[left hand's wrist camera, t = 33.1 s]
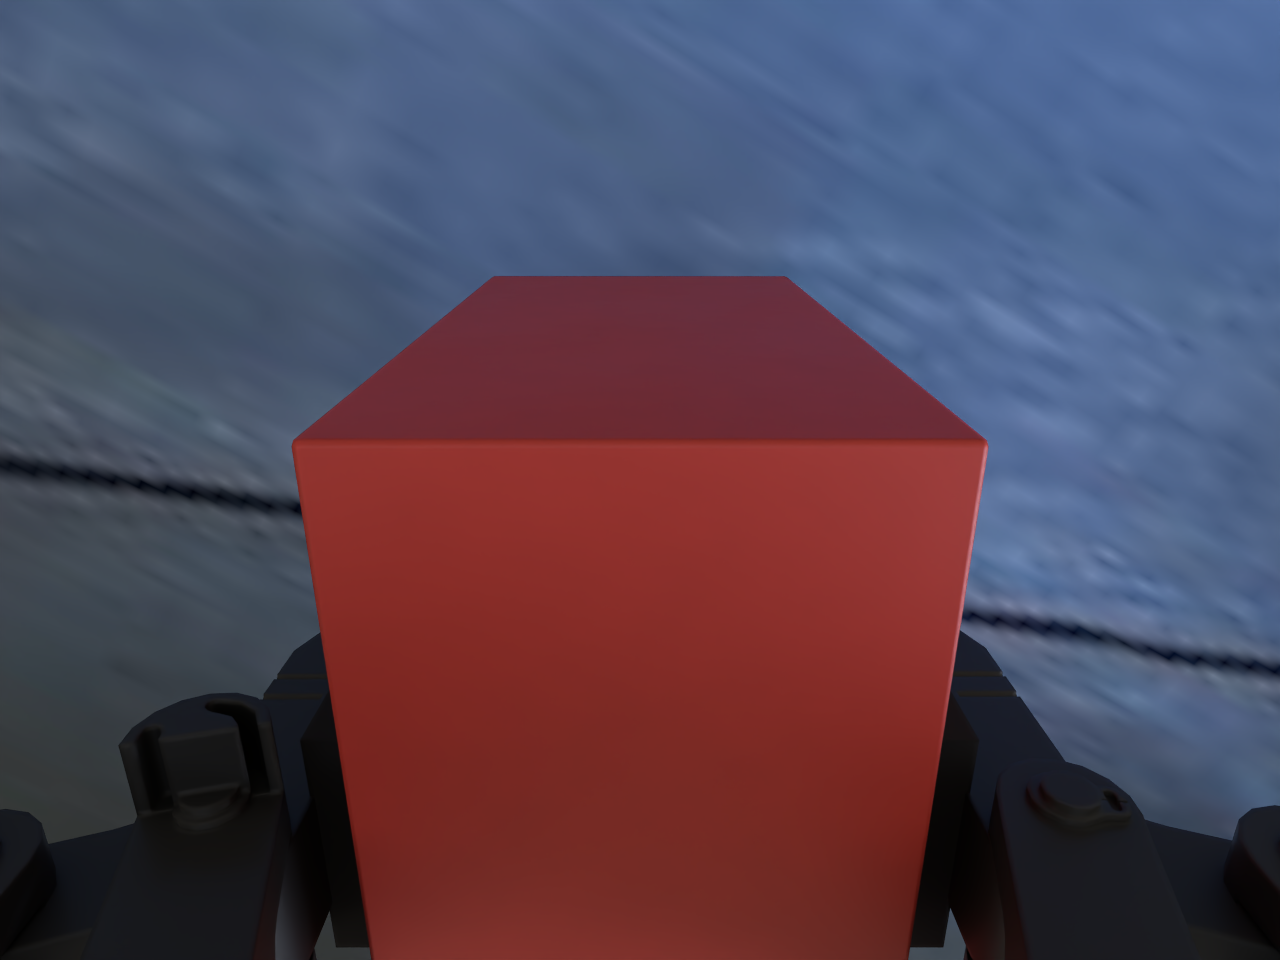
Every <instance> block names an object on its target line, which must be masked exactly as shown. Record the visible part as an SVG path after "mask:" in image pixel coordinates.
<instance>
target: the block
mask: <svg viewBox="0 0 1280 960" xmlns="http://www.w3.org/2000/svg"><path fill="white" fill-rule="evenodd" d="M292 452H293V458H294V465H295V471H296V478H297V484H298V491H299V497H300V503H301V510H302V516H303V523H304V529H305V536H306V542H307V548H308V555H309V561H310V568H311V574H312V581H313V587H314V593H315V600H316V606H317V613H318V619H319V626H320V632H321V638H322V645H323V651H324V658H325V664H326V671H327V677H328V683H329V690H330V696H331V703H332V709H333V716H334V722H335V728H336V735H337V741H338V748H339V754H340V761H341V767H342V773H343V780H344V786H345V793H346V799H347V806H348V812H349V818H350V825H351V831H352V838H353V844H354V851H355V857H356V863H357V870H358V876H359V883H360V889H361V896H362V902H363V908H364V915H365V921H366V928H367V934H368V941H369V947H370V953H371V960H908V957H909V950H910V944H911V938H912V931H913V925H914V918H915V912H916V906H917V899H918V893H919V887H920V880H921V874H922V867H923V861H924V855H925V848H926V842H927V835H928V829H929V823H930V816H931V810H932V804H933V797H934V791H935V784H936V778H937V772H938V765H939V759H940V752H941V746H942V740H943V733H944V727H945V721H946V714H947V708H948V701H949V695H950V689H951V682H952V676H953V670H954V663H955V657H956V650H957V644H958V638H959V631H960V625H961V618H962V612H963V606H964V599H965V593H966V587H967V580H968V574H969V567H970V561H971V555H972V548H973V542H974V535H975V529H976V523H977V516H978V510H979V504H980V497H981V491H982V484H983V478H984V472H985V465H986V459H987V452H988V443H987V440H986V439H984V438H983V437H982V436H981V435H980V434H978V433H977V432H976V431H975V430H973V429H972V428H971V427H970V426H968V425H967V424H966V423H965V422H964V421H962V420H961V419H960V418H959V417H957V416H956V415H955V414H954V413H953V412H951V411H950V410H949V409H948V408H946V407H945V406H944V405H943V404H942V403H940V402H939V401H938V400H937V399H935V398H934V397H933V396H932V395H930V394H929V393H928V392H927V391H926V390H924V389H923V388H922V387H921V386H919V385H918V384H917V383H916V382H915V381H913V380H912V379H911V378H910V377H908V376H907V375H906V374H905V373H904V372H902V371H901V370H900V369H899V368H897V367H896V366H895V365H894V364H892V363H891V362H890V361H889V360H888V359H886V358H885V357H884V356H883V355H881V354H880V353H879V352H878V351H877V350H875V349H874V348H873V347H872V346H870V345H869V344H868V343H867V342H866V341H864V340H863V339H862V338H861V337H859V336H858V335H857V334H856V333H854V332H853V331H852V330H851V329H850V328H848V327H847V326H846V325H845V324H843V323H842V322H841V321H840V320H839V319H837V318H836V317H835V316H834V315H832V314H831V313H830V312H829V311H828V310H826V309H825V308H824V307H823V306H821V305H820V304H819V303H818V302H816V301H815V300H814V299H813V298H812V297H810V296H809V295H808V294H807V293H805V292H804V291H803V290H802V289H801V288H799V287H798V286H797V285H796V284H794V283H793V282H792V281H791V280H790V279H788V278H787V277H785V276H494V277H492V278H491V279H490V280H488V281H487V282H486V283H485V284H484V285H482V286H481V287H480V288H479V289H477V290H476V291H475V292H474V293H473V294H471V295H470V296H469V297H468V298H466V299H465V300H464V301H463V302H462V303H460V304H459V305H458V306H457V307H455V308H454V309H453V310H452V311H451V312H449V313H448V314H447V315H446V316H444V317H443V318H442V319H441V320H440V321H438V322H437V323H436V324H435V325H433V326H432V327H431V328H430V329H429V330H427V331H426V332H425V333H424V334H422V335H421V336H420V337H419V338H418V339H416V340H415V341H414V342H413V343H411V344H410V345H409V346H408V347H407V348H405V349H404V350H403V351H402V352H400V353H399V354H398V355H397V356H396V357H394V358H393V359H392V360H391V361H389V362H388V363H387V364H386V365H385V366H383V367H382V368H381V369H380V370H378V371H377V372H376V373H375V374H374V375H372V376H371V377H370V378H369V379H367V380H366V381H365V382H364V383H363V384H361V385H360V386H359V387H358V388H357V389H355V390H354V391H353V392H352V393H350V394H349V395H348V396H347V397H346V398H344V399H343V400H342V401H341V402H339V403H338V404H337V405H336V406H335V407H333V408H332V409H331V410H330V411H328V412H327V413H326V414H325V415H324V416H322V417H321V418H320V419H319V420H317V421H316V422H315V423H314V424H313V425H311V426H310V427H309V428H308V429H306V430H305V431H304V432H303V433H302V434H300V435H299V436H298V437H297V438H295V439H294V440H293V443H292Z"/></svg>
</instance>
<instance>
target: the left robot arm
mask: <svg viewBox="0 0 1280 960" xmlns="http://www.w3.org/2000/svg"><path fill="white" fill-rule="evenodd" d="M119 749H120V753H121V757H122V760H123V764H124V768H125V771H126V775H127V779H128V783H129V786H130V790H131V794H132V797H133V801H134V805H135V809H136V812H137V818H136V821H135V823H134V824H131V825H127V826H124V827H121V828H117V829H114V830H110V831H105V832H101V833H96V834H92V835H87V836H83V837H78V838H74V839H69V840H65V841H61V842H56V843H52V844H48V842H47V839H46V836H45V833H44V830H43V827H42V824H41V822H39V821H38V820H37V819H36V818H35V817H33V816H32V815H31V814H30V813H29V812H22V811H15V810H9V809H2V810H0V960H316V954H315V949H314V947H315V944H316V942H317V940H318V937H319V935H320V932H321V930H322V927H323V925H324V923H325V920H326V918H327V915H328V913H329V910H330V915H331V921H332V926H333V932H334V938H335V943H336V947H369V941H368V934H367V928H366V921H365V915H364V908H363V902H362V896H361V889H360V883H359V876H358V870H357V863H356V857H355V851H354V844H353V838H352V831H351V825H350V818H349V812H348V806H347V799H346V793H345V786H344V780H343V773H342V767H341V761H340V754H339V748H338V741H337V735H336V728H335V722H334V716H333V709H332V703H331V696H330V690H329V683H328V677H327V671H326V664H325V658H324V651H323V645H322V638H321V632H320V633H319V634H317V635H316V636H315V637H313V638H312V639H310V640H309V641H307V642H306V643H305V644H303V645H302V646H300V647H299V648H297V649H296V650H295V651H294V652H293V653H292V655H291V656H290V657H289V659H288V660H287V662H286V663H285V665H284V666H283V667H282V669H281V670H280V672H279V673H278V677H277V679H274V680H273V682H272V683H271V685H270V686H269V687H268V689H267V690H266V692H265V693H264V698H263V700H259V699H258V698H256V697H252V696H248V695H244V694H240V693H217V694H207V695H203V696H199V697H195V698H190V699H186V700H182V701H180V702H177V703H175V704H173V705H170V706H168V707H166V708H164V709H161V710H159V711H157V712H155V713H153V714H152V715H150V716H149V717H147V718H146V719H144V720H143V721H142V722H140V723H139V724H137V725H136V726H134V727H133V728H132V729H131V730H130V732H129V733H128V734H127V735H126V737H125V738H124V739H123V740H122V742H121V743H120V744H119ZM950 908H951V910H952V913H953V915H954V917H955V920H956V922H957V925H958V927H959V929H960V932H961V934H962V937H963V939H964V942H965V944H966V949H965V954H964V960H1280V806H1276V805H1274V806H1267V807H1260V808H1253V809H1251V810H1250V811H1249V812H1247V813H1246V814H1245V815H1244V816H1242V817H1241V818H1240V819H1239V821H1238V824H1237V827H1236V830H1235V834H1234V837H1233V840H1232V841H1231V840H1227V839H1222V838H1218V837H1213V836H1209V835H1204V834H1200V833H1195V832H1191V831H1186V830H1182V829H1177V828H1173V827H1168V826H1165V825H1161V824H1158V823H1154V822H1151V821H1147V820H1145V819H1144V817H1143V815H1142V813H1141V812H1140V810H1139V809H1138V807H1137V806H1136V804H1135V803H1134V801H1133V800H1132V798H1131V797H1130V796H1129V795H1128V794H1127V793H1125V792H1124V791H1123V790H1122V789H1120V788H1119V787H1118V786H1117V785H1115V784H1114V783H1113V782H1112V781H1110V780H1109V779H1107V778H1105V777H1103V776H1101V775H1099V774H1097V773H1095V772H1093V771H1091V770H1089V769H1087V768H1085V767H1083V766H1079V765H1076V764H1072V763H1068V762H1066V761H1065V760H1064V759H1063V757H1062V756H1061V754H1060V753H1059V752H1058V750H1057V749H1056V747H1055V746H1054V744H1053V743H1052V742H1051V740H1050V739H1049V737H1048V736H1047V734H1046V733H1045V732H1044V730H1043V729H1042V727H1041V726H1040V725H1039V723H1038V722H1037V720H1036V719H1035V717H1034V716H1033V715H1032V713H1031V712H1030V710H1029V709H1028V708H1027V706H1026V705H1025V703H1024V702H1023V700H1022V699H1021V698H1020V697H1017V696H1016V690H1015V689H1014V688H1013V686H1012V685H1011V683H1010V682H1009V681H1008V679H1007V678H1006V677H1003V675H1002V671H1001V669H1000V668H999V666H998V665H997V663H996V662H995V661H994V659H993V658H992V656H991V655H990V654H989V652H988V651H987V649H986V648H985V647H983V646H982V645H981V644H979V643H978V642H976V641H975V640H973V639H972V638H970V637H969V636H968V635H966V634H965V633H963V632H962V631H959V638H958V644H957V650H956V657H955V663H954V670H953V676H952V682H951V689H950V695H949V701H948V708H947V714H946V721H945V727H944V733H943V740H942V746H941V752H940V759H939V765H938V772H937V778H936V784H935V791H934V797H933V804H932V810H931V816H930V823H929V829H928V835H927V842H926V848H925V855H924V861H923V867H922V874H921V880H920V887H919V893H918V899H917V906H916V912H915V918H914V925H913V931H912V938H911V944H910V947H943V946H944V940H945V934H946V929H947V923H948V917H949V911H950Z"/></svg>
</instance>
